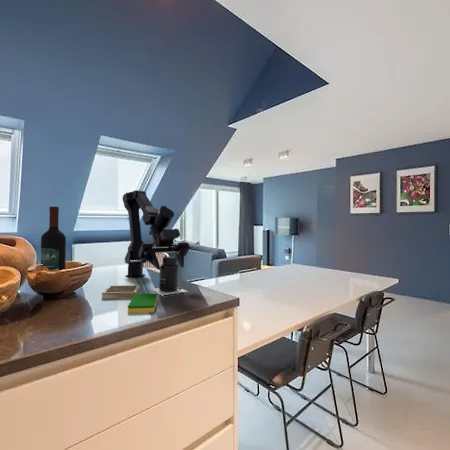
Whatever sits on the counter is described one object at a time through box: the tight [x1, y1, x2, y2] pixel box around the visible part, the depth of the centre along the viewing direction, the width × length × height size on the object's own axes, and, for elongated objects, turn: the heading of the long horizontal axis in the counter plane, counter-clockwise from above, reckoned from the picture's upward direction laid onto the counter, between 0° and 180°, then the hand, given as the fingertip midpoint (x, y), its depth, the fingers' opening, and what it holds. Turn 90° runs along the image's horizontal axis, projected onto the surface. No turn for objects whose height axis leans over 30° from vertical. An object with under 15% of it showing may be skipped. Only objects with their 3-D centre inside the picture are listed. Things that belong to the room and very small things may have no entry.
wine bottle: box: [40, 206, 67, 270], centre depth 101 cm, size 8×8×30 cm
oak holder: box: [101, 284, 141, 300], centre depth 99 cm, size 11×11×2 cm
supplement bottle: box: [158, 256, 180, 292], centre depth 105 cm, size 7×7×12 cm
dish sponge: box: [127, 293, 158, 314], centre depth 87 cm, size 7×14×2 cm, turn 9°
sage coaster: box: [150, 287, 189, 297], centre depth 105 cm, size 10×10×1 cm
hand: (171, 268), depth 104 cm, fingers open, 9 cm apart
